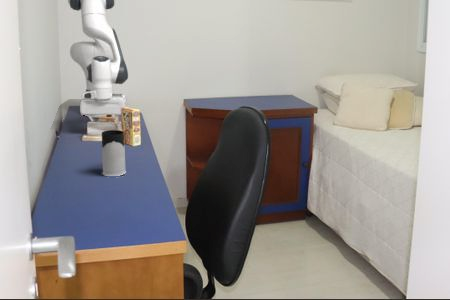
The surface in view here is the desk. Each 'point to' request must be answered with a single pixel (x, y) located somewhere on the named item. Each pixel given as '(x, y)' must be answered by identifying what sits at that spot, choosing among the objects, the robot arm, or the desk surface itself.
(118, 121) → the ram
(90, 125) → the press bed
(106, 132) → the glass holder
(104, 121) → the housing
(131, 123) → the candy box
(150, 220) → the desk surface
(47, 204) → the desk surface
